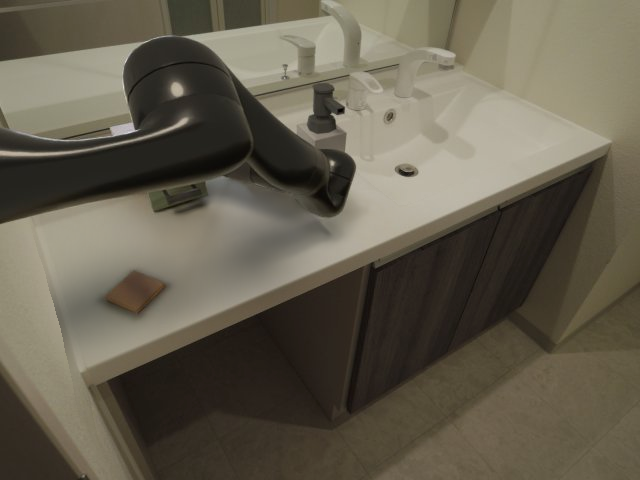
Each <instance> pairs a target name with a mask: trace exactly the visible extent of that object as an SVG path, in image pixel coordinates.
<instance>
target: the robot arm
mask: <svg viewBox="0 0 640 480" xmlns="http://www.w3.org/2000/svg"><path fill="white" fill-rule="evenodd" d="M121 74H122V75H121V76H122V77H121V78H122V87H123V88H122V89H123V94H124V99H125V102H126V105H127V108H128V113H129V117H130V118H131V123H132V122H133V125H134V129H135V131H133V132H129V133H125V134H120V135H115V136H112V135H111V136H103V137H101V136H100V137H94V138H85V139H56V138H55V139H54V138H48V137H42V136H37V135H34V134H30V133H24V132H22V131H18V130H14V129H11V128H7V127H4V126H0V225H4V224H8V223H11V222H14V221H18V220H19V221H20V220H24V219H26V218H30V217H35V216H38V215H42V214H46V213H50V212H56V211H59V210H63V209H64V210H65V209H68V208H72V207H77V206H81V205H85V204H91V203H96V202H97V203H98V202H102V201H106V200H107V201H108V200H112V199H113V200H114V199H120V198H125V197H131V196H136V195H142V194H148V192H154V191H160V190H166V189H171V188H177V187H182V186H187V185H192V184H196V183H201V182H204V181H205V182H207V181H211V180H214V179H217V178H220V177H225V178H228V179H231V180H235V181H237V182H241V183H246V184H252V185H256V186H259V187H262V188H266V189H268V190H273V191H276V192H280V193H286V192H287V193H290V194H292V195H293V196H294V198H295V199H296V200H297V202H298V203H299V204H300V205H301V206H302V207H303V208H304V209H305V210H306V211H307V212H309V213H311V214H312V215H315V216H317V217H320V218H324V219H330V218H331V219H332V218H334V217H336V216H338V215H339V214H341V213H342V211H343V210H344V208H345V206H346V203H347V199H348V196H349V194H350V190H351V187H352V184H353V181H354V178H355V175H356V172H357V171H356V170H357V164H356V162H355V160H354V158H353V157H352V155H350V154H349V153H347V152H346V151H345V152H343V151H341V150H336V149H317V148H316V147H314V146H313V145H311V144H310V143H308V142H307V141H305V140H304V139H302V138H301V137H299V136H298V135H297V133H295V132H294V131H293V130H291V129H290V128H289V127H288V126H287V125H286V124H284V123H283V122H282V121H281V120H279V118H278V117H276V116H275V115H274V114H273V113H272V112H271V111H270V110H268V108H267V107H265V105H264V104H263V103H262V102H261V101H260V100H259V99H258V98H256V96H255V95H254V94H253V93H252V92H251V91H250V90H249V89H248V88H247V87H246V86H245V85H244V84H243V83H242V82H241V81H240V79H239V78H238V77H237V76H236V74H235V73H234V72H233V71H232V70H231V68H229V66H228V65H227V64H226V62H224V61H223V60H222V58H221V57H219V55H218V54H217V53H216V52H215V51H214V50H212V48H210V47H209V46H208V45H206V44H204V43H202V42H201V41H198V40H196V39H192V38H189V37H185V36H178V35H163V36H158V37H154V38H151V39H149V40H147V41H144V42H143V43H141V44H140V45H138V46H137V47H136V48H134V49H133V50H132V51H131V52H130V53H129V54H128V56H127V58H126V60H125V62H124V64H123V69H122V73H121Z"/></svg>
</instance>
